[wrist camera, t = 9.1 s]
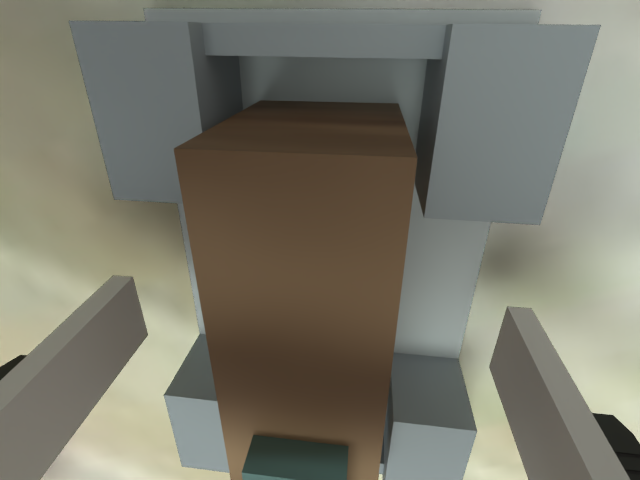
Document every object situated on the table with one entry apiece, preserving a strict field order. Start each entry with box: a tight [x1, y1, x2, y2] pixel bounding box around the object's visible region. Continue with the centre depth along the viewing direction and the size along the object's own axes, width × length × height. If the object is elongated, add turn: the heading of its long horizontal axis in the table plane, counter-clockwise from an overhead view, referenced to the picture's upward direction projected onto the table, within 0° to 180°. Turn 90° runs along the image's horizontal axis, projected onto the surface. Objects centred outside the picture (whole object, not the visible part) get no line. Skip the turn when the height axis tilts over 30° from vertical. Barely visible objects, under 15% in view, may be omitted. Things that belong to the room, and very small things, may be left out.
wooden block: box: [174, 100, 418, 480], centre depth 14 cm, size 14×5×8 cm, turn 0°
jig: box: [69, 8, 601, 480], centre depth 16 cm, size 20×13×4 cm, turn 179°
